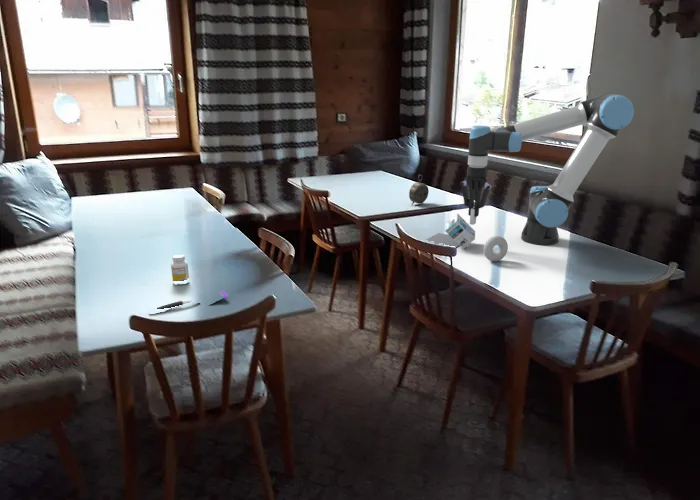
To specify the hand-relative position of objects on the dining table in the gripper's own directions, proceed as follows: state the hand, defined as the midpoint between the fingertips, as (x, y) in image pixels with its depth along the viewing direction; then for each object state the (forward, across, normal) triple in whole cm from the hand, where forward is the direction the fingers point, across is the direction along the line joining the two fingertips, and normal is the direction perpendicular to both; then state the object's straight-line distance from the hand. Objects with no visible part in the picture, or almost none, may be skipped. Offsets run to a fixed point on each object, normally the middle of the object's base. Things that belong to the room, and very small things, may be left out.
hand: (472, 223), depth 227 cm
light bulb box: (+7, +1, 0) cm, 7 cm away
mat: (+10, +12, 0) cm, 15 cm away
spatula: (+11, +47, +106) cm, 117 cm away
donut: (+10, -15, +12) cm, 22 cm away
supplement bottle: (+11, +65, +95) cm, 116 cm away
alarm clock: (+10, +52, -50) cm, 72 cm away
